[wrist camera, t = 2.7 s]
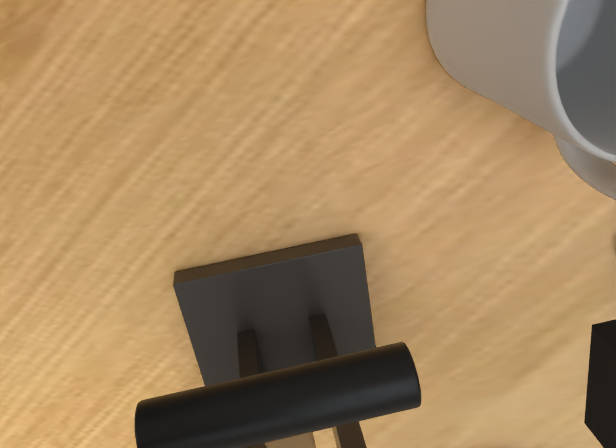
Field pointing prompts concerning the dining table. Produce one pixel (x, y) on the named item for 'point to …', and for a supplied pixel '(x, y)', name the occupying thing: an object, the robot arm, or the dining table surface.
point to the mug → (540, 69)
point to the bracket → (279, 313)
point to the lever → (282, 403)
